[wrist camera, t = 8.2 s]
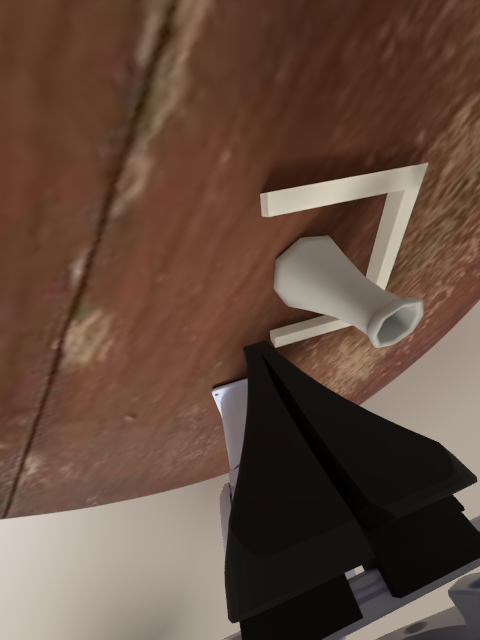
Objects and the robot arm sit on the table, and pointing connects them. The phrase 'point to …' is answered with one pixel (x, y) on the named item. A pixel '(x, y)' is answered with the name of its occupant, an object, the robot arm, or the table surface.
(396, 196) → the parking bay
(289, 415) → the robot arm
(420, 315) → the flask
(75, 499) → the table surface
